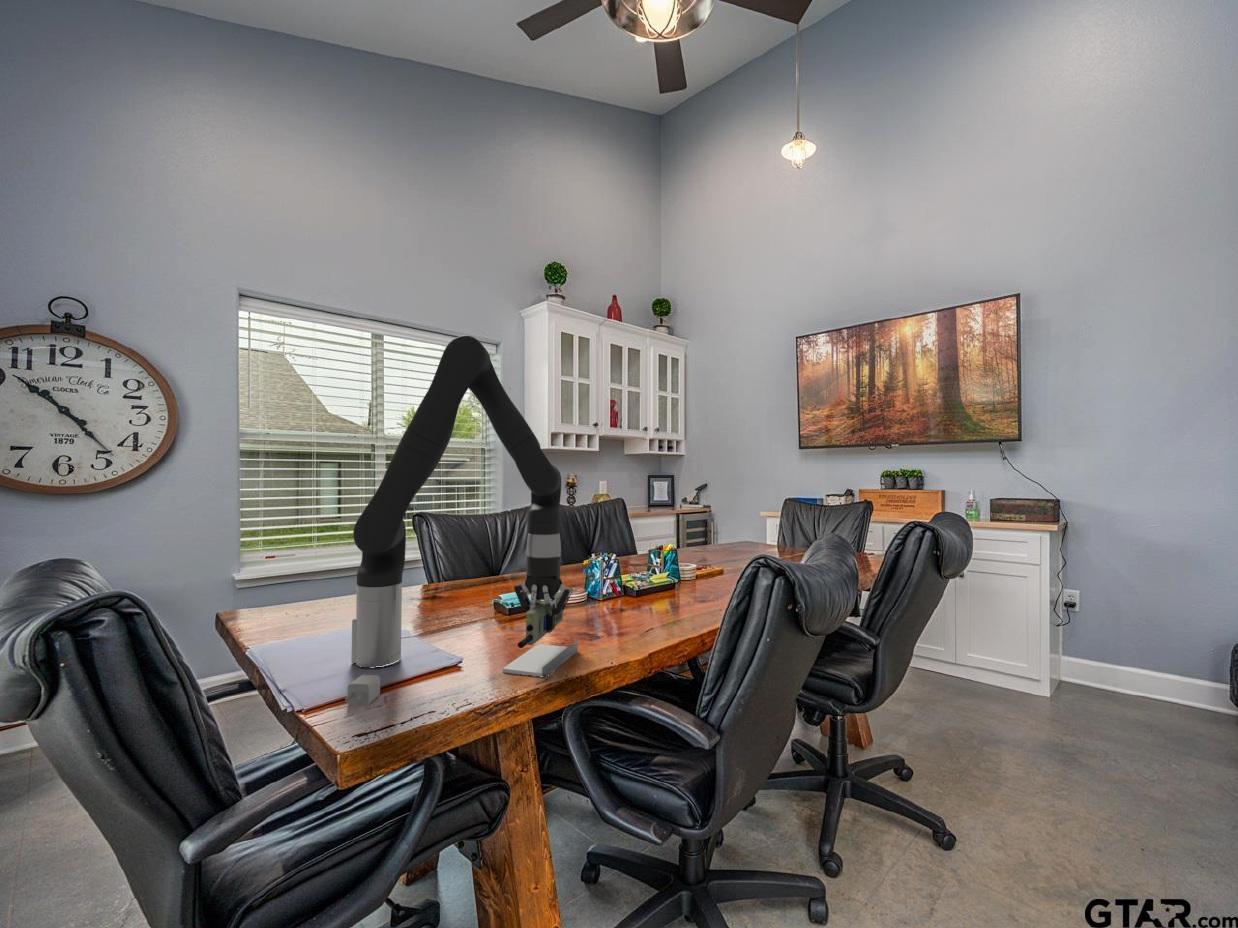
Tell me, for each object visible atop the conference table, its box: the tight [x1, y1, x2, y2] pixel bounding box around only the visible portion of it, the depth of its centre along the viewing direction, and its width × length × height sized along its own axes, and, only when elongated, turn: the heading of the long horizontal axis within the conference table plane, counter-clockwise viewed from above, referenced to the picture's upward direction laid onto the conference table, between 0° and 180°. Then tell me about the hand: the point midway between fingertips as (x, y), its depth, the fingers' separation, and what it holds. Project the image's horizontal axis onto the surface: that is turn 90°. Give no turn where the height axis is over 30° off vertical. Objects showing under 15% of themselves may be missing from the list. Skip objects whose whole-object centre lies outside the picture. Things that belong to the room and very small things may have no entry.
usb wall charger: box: [344, 674, 381, 707], centre depth 106 cm, size 4×7×4 cm, turn 178°
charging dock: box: [502, 642, 579, 678], centre depth 130 cm, size 10×18×2 cm, turn 164°
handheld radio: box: [517, 593, 564, 649], centre depth 130 cm, size 7×3×25 cm
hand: (542, 630), depth 130 cm, fingers closed on handheld radio, 2 cm apart
